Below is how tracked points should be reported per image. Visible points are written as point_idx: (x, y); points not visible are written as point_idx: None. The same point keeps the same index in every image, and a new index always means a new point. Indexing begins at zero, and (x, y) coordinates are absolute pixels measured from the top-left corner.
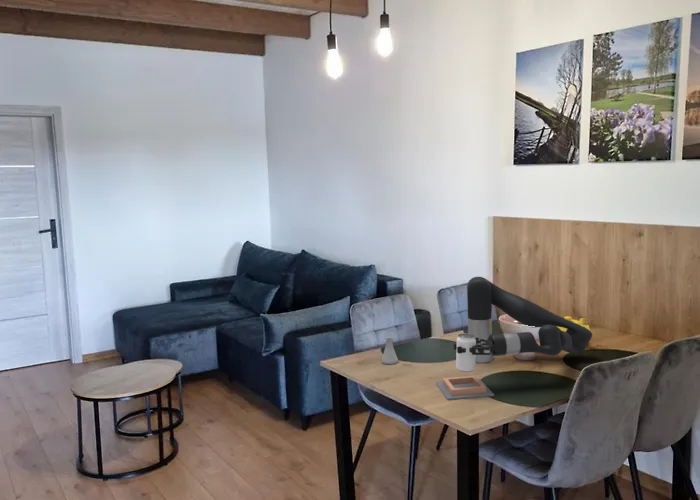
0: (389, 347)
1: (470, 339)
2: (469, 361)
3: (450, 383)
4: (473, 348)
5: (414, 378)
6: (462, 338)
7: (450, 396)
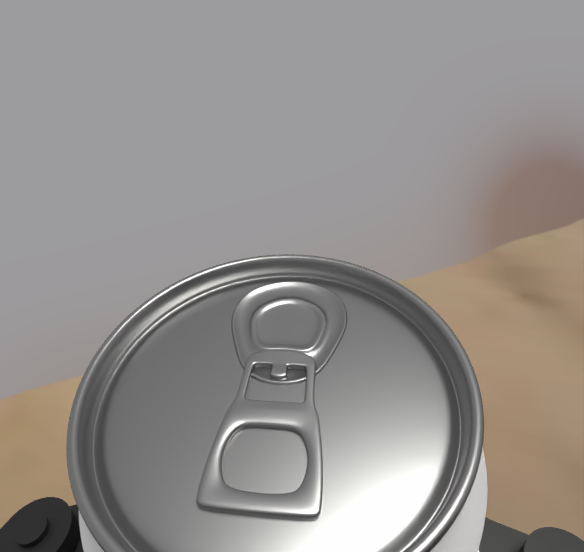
0: None
1: (90, 430)
2: None
3: None
4: (19, 524)
5: (553, 390)
6: (185, 301)
7: None
